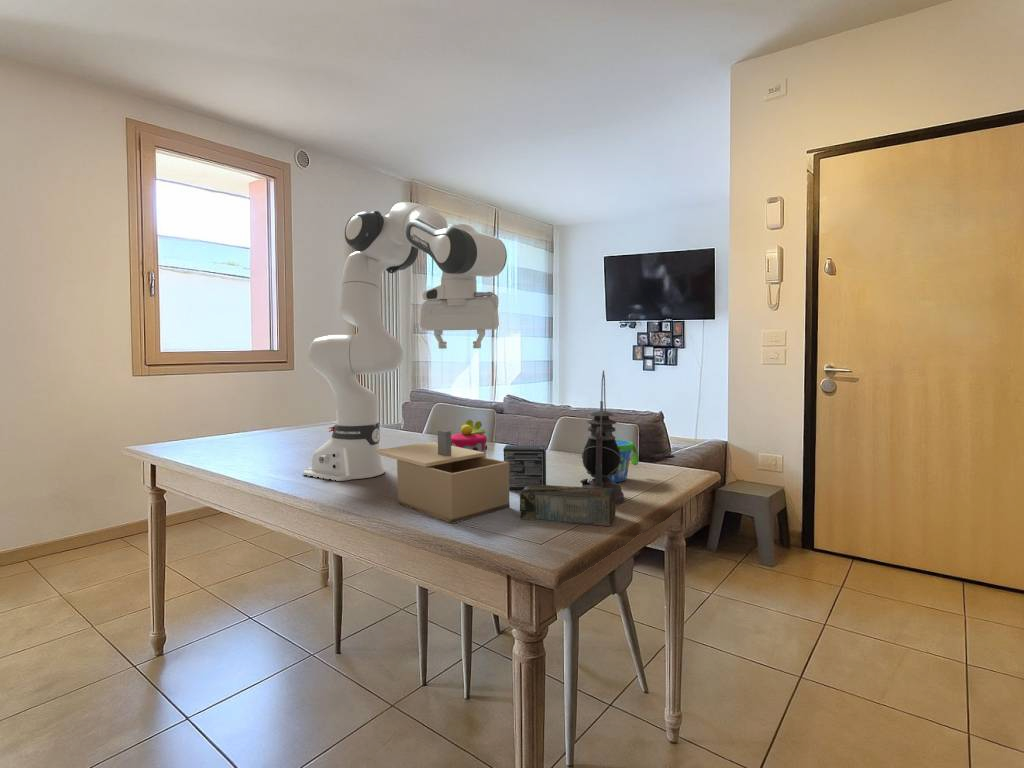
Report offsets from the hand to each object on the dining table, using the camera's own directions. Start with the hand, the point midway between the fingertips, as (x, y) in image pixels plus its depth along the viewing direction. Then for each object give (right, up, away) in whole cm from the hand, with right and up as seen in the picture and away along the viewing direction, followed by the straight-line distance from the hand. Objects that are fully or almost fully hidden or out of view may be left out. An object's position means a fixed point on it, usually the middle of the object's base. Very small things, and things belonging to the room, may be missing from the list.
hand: (459, 348), depth 136 cm
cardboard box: (0, -36, -14) cm, 39 cm away
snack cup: (+40, -35, +8) cm, 54 cm away
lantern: (+34, -36, -10) cm, 50 cm away
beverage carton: (+25, -37, -23) cm, 50 cm away
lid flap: (-6, -26, -9) cm, 28 cm away
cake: (+1, -34, +15) cm, 37 cm away
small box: (+17, -35, +1) cm, 39 cm away
